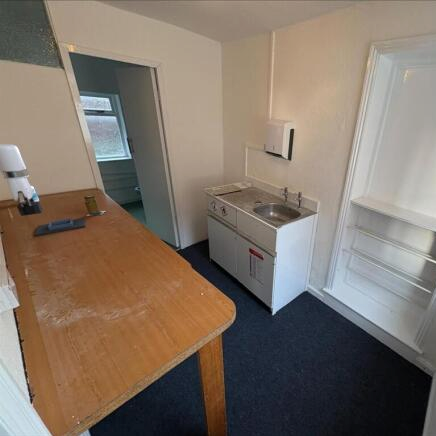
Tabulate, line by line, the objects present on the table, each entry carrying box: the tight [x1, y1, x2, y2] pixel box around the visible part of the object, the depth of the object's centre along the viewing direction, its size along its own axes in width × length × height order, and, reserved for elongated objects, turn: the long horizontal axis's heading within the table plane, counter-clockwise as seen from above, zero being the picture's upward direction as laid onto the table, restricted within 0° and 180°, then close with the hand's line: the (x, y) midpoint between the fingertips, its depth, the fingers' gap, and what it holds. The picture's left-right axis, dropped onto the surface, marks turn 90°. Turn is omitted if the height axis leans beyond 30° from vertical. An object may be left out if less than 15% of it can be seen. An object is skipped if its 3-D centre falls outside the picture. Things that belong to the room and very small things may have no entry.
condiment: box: [83, 194, 106, 217], centre depth 149 cm, size 7×8×12 cm
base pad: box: [34, 217, 86, 237], centre depth 132 cm, size 20×14×3 cm
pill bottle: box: [30, 185, 40, 202], centre depth 163 cm, size 8×7×14 cm
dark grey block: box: [16, 200, 44, 217], centre depth 108 cm, size 6×5×4 cm
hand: (31, 212), depth 108 cm, fingers closed on dark grey block, 5 cm apart
